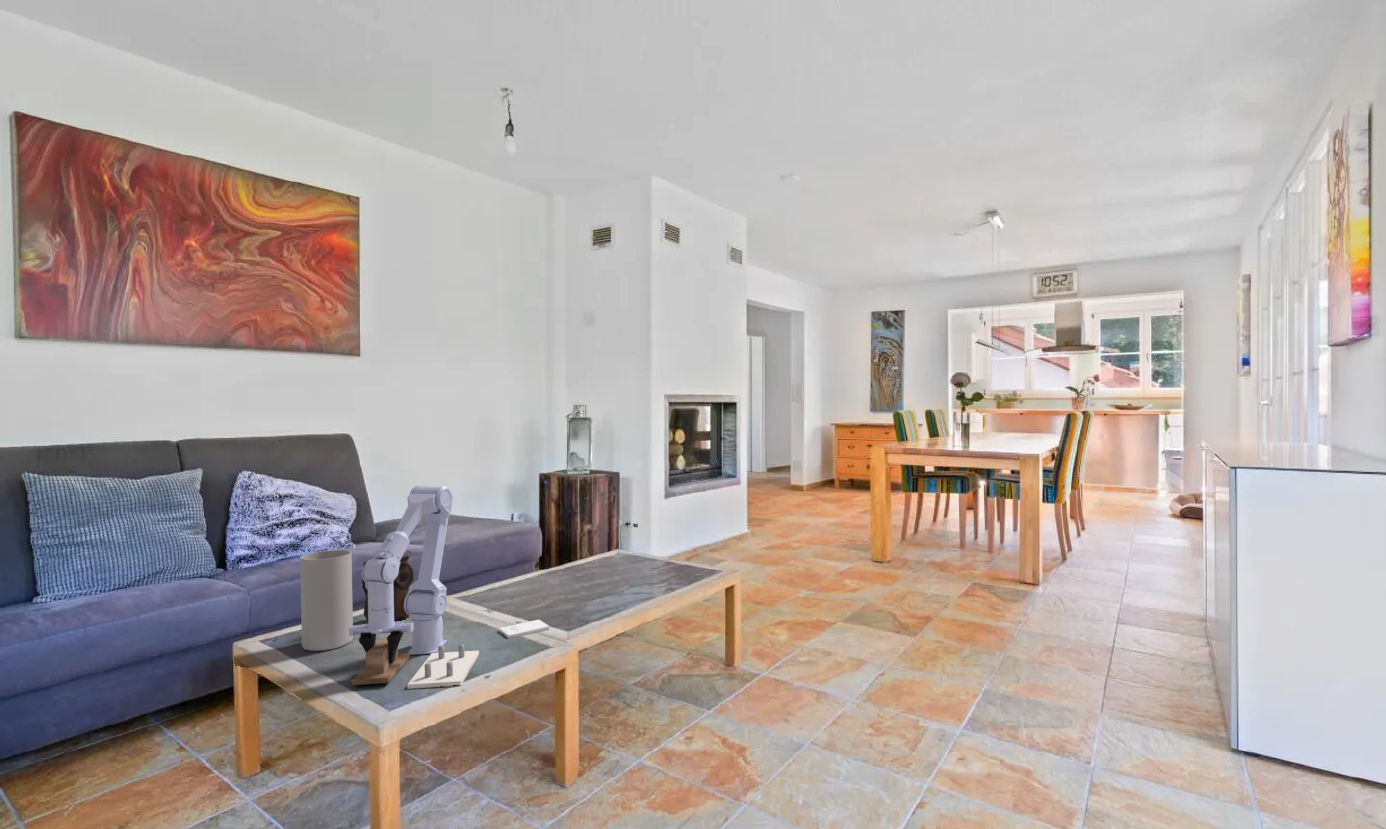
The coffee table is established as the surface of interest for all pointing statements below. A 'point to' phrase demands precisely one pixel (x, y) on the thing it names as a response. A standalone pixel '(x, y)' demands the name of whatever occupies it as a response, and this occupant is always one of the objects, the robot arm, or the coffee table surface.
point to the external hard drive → (523, 628)
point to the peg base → (444, 668)
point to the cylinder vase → (326, 599)
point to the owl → (397, 590)
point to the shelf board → (381, 676)
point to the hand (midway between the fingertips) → (382, 662)
